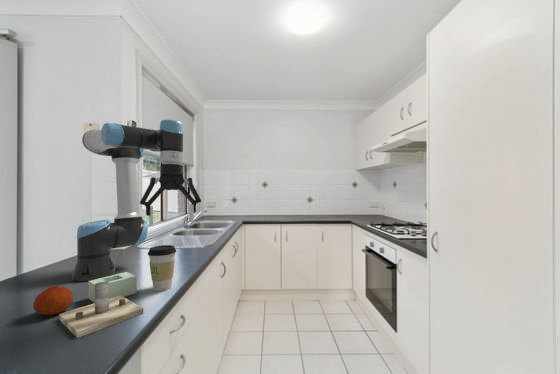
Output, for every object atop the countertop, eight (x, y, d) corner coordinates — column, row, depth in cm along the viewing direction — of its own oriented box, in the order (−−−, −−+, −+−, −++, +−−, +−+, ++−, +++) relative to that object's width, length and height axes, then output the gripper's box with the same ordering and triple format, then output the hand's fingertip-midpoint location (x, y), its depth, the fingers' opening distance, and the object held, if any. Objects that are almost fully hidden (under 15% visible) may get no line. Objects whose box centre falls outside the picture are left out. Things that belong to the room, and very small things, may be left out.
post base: (59, 319, 74) (58, 285, 74) (120, 300, 87) (120, 271, 87) (77, 338, 65) (76, 299, 65) (143, 313, 77) (143, 281, 77)
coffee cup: (154, 283, 102) (153, 245, 102) (180, 282, 103) (179, 244, 103) (143, 293, 92) (142, 251, 92) (171, 292, 93) (171, 250, 93)
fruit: (80, 307, 82) (80, 281, 82) (49, 321, 73) (49, 292, 73) (58, 305, 84) (58, 280, 84) (26, 318, 75) (25, 290, 75)
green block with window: (97, 304, 83) (97, 286, 84) (88, 298, 88) (88, 281, 88) (136, 292, 93) (136, 275, 93) (126, 288, 98) (126, 271, 98)
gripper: (133, 161, 83) (133, 228, 83) (209, 164, 97) (209, 221, 97) (130, 163, 89) (131, 225, 89) (202, 166, 104) (203, 219, 104)
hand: (172, 223), depth 93 cm, fingers open, 13 cm apart
